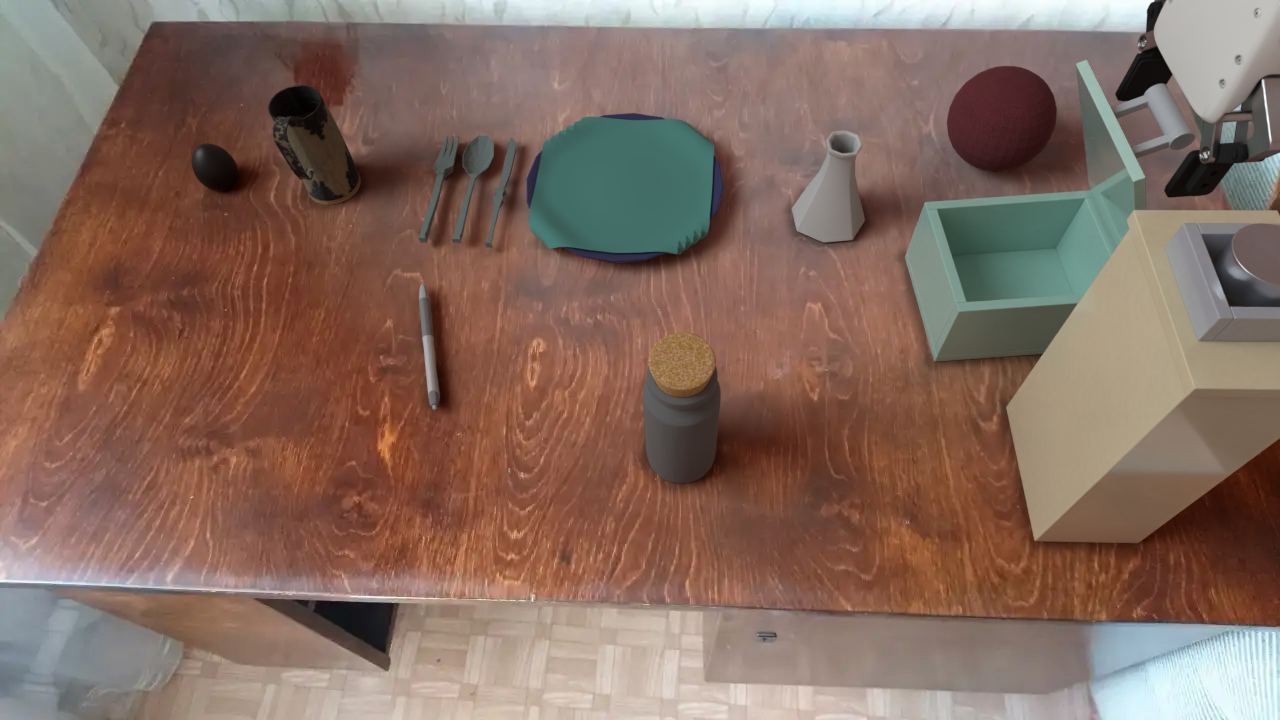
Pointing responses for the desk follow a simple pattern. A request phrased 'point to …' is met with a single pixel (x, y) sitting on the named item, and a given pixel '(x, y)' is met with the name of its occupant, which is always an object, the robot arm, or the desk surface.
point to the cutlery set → (604, 187)
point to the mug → (313, 144)
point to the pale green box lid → (1123, 146)
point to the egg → (214, 167)
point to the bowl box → (1004, 270)
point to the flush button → (1251, 266)
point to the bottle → (681, 407)
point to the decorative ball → (1001, 118)
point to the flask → (832, 194)
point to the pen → (429, 347)
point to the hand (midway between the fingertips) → (1159, 143)
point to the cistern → (1148, 386)
